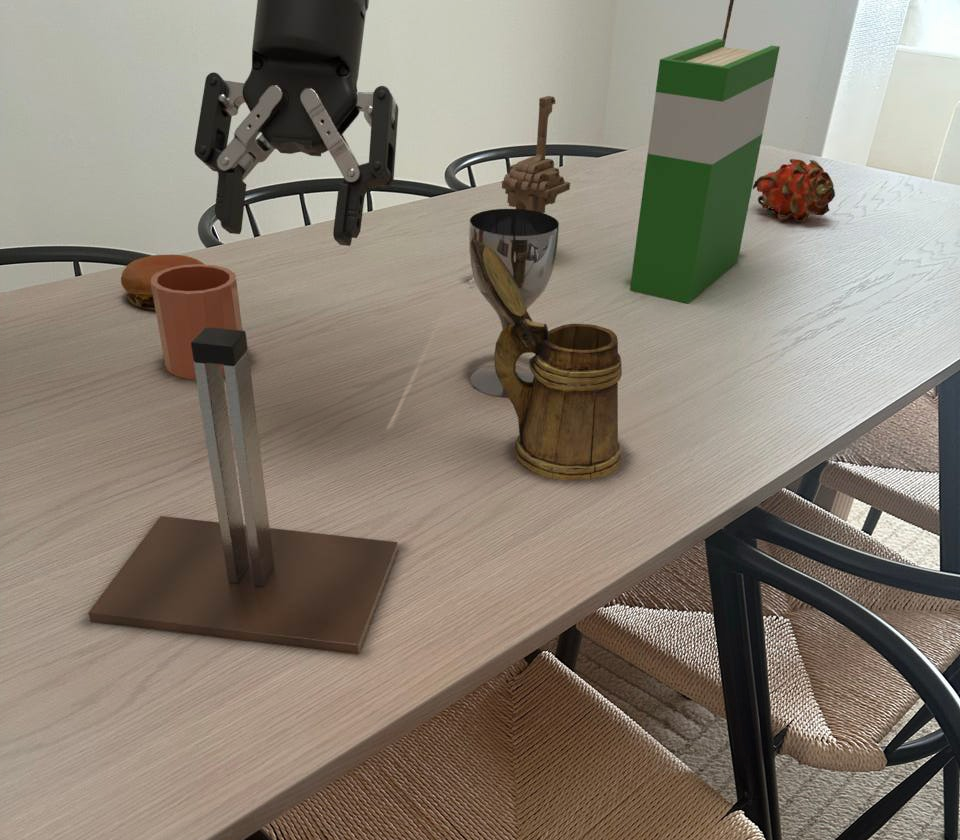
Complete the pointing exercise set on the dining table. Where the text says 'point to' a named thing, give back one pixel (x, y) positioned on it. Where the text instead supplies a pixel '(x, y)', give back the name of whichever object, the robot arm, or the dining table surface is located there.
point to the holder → (192, 310)
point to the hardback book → (700, 167)
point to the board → (250, 587)
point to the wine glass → (515, 267)
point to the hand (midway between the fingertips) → (285, 236)
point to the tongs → (233, 354)
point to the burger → (149, 276)
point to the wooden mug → (555, 383)
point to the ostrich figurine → (535, 173)
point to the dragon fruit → (796, 190)
